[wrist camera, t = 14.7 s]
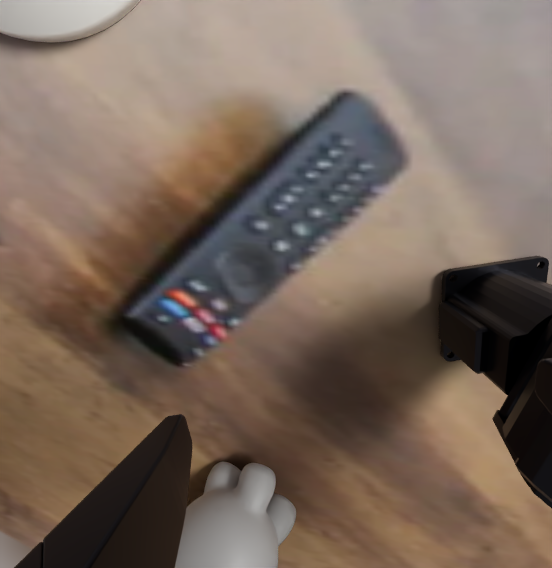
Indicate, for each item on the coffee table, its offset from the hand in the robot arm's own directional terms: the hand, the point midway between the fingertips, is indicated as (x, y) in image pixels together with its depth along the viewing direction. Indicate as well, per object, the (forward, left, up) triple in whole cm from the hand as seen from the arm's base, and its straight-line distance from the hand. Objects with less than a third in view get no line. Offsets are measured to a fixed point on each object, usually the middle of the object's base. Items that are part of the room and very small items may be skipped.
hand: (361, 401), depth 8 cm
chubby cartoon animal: (+9, +17, -13) cm, 24 cm away
